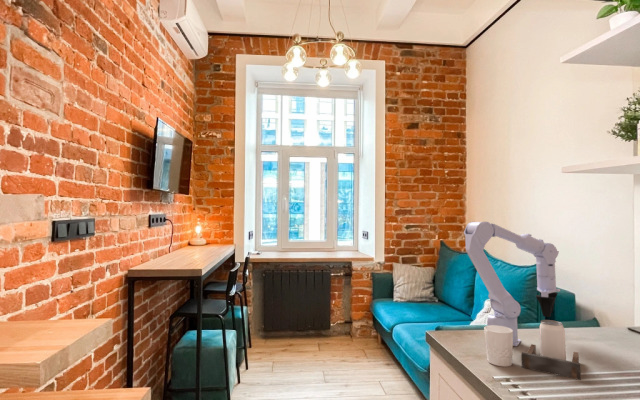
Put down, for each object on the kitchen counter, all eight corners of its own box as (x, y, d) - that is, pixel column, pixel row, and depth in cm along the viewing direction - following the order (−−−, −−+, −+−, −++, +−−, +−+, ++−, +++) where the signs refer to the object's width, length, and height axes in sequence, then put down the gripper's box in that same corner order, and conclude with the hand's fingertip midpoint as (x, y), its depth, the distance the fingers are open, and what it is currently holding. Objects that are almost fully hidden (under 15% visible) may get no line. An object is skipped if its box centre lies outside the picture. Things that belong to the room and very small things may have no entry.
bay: (521, 367, 105) (521, 353, 105) (528, 353, 116) (528, 340, 116) (580, 379, 96) (579, 364, 96) (582, 363, 107) (581, 349, 108)
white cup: (513, 369, 103) (511, 334, 104) (483, 364, 107) (482, 330, 108) (515, 360, 110) (513, 327, 110) (487, 355, 114) (486, 323, 115)
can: (570, 367, 104) (568, 325, 105) (546, 366, 106) (544, 324, 106) (560, 359, 111) (558, 320, 111) (537, 358, 112) (535, 319, 113)
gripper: (557, 279, 121) (559, 320, 120) (561, 274, 132) (562, 311, 132) (533, 277, 125) (535, 317, 124) (538, 273, 137) (540, 309, 136)
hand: (548, 314), depth 128 cm, fingers open, 7 cm apart
